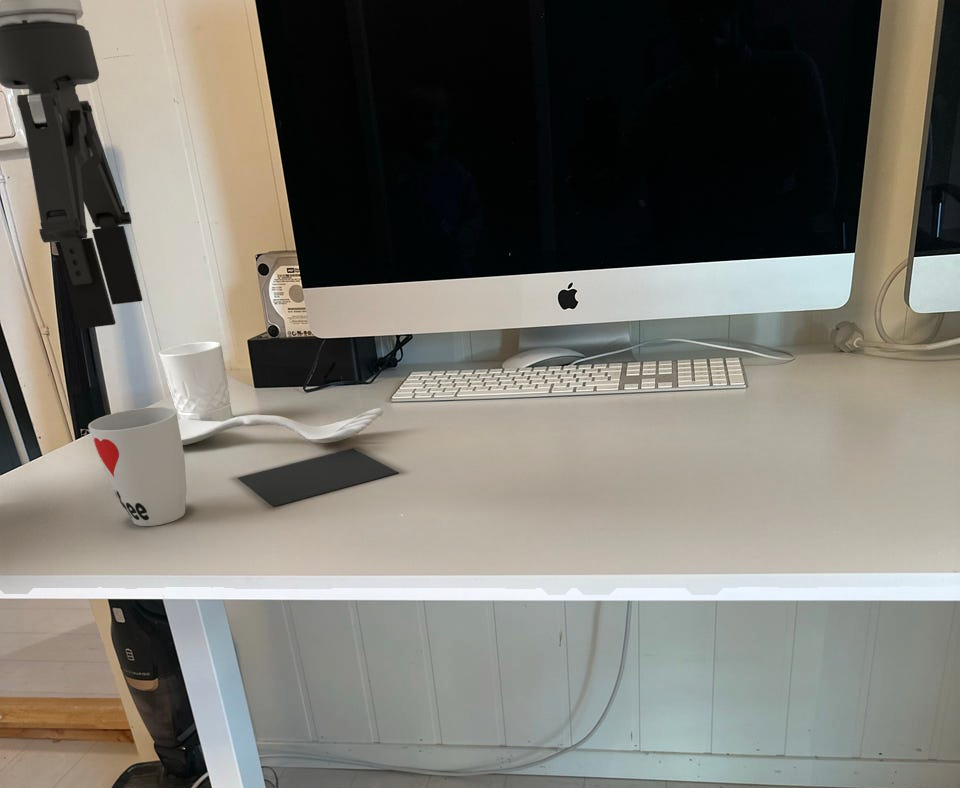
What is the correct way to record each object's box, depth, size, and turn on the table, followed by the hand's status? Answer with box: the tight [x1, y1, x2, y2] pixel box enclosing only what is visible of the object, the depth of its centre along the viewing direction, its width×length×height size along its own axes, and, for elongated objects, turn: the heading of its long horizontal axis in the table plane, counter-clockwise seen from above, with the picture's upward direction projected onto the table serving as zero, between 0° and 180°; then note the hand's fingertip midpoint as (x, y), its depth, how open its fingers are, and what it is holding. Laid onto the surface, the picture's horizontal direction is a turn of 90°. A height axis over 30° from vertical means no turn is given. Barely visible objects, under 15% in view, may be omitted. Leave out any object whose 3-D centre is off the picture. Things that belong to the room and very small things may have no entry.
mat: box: [237, 448, 399, 508], centre depth 98 cm, size 14×12×1 cm
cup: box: [87, 406, 188, 527], centre depth 89 cm, size 8×8×10 cm
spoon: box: [177, 407, 384, 446], centre depth 111 cm, size 9×32×4 cm, turn 72°
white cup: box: [158, 341, 234, 422], centre depth 119 cm, size 8×8×10 cm
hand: (114, 313), depth 80 cm, fingers open, 13 cm apart
